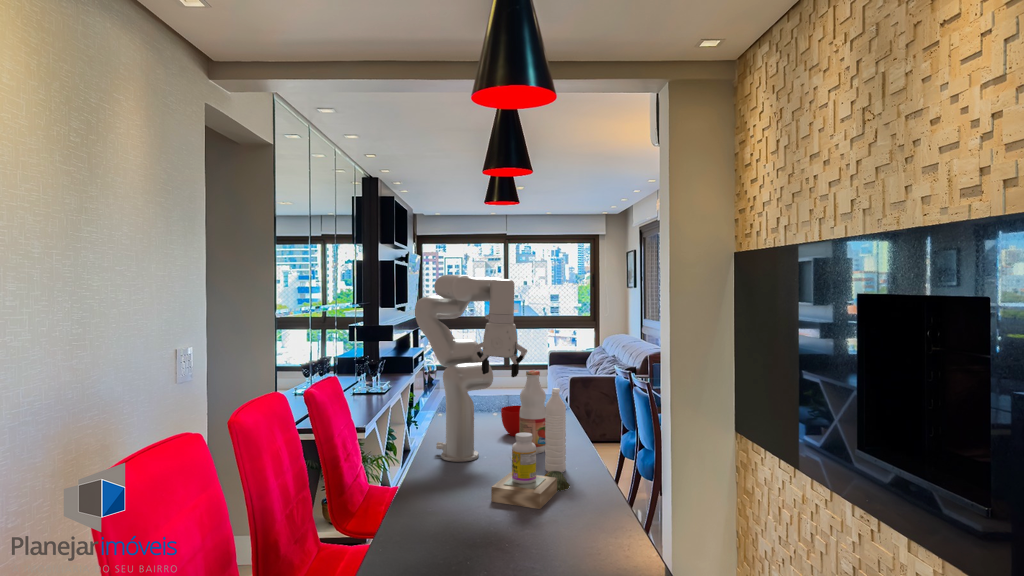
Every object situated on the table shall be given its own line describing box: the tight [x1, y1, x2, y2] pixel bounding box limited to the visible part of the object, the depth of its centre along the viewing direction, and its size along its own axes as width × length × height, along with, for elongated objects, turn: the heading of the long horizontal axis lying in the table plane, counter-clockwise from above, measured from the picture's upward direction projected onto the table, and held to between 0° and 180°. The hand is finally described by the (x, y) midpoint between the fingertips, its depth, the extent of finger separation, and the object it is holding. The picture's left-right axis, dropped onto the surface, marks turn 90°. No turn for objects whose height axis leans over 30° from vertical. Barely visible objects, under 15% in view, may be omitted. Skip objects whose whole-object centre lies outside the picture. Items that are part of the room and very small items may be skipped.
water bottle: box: [544, 387, 567, 473], centre depth 192 cm, size 9×6×25 cm
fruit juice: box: [519, 369, 547, 455], centre depth 213 cm, size 9×9×28 cm
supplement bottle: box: [511, 433, 537, 484], centre depth 167 cm, size 7×7×13 cm
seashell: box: [543, 471, 571, 492], centre depth 176 cm, size 10×4×10 cm
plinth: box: [490, 471, 558, 510], centre depth 167 cm, size 14×14×4 cm
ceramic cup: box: [500, 405, 521, 437], centre depth 237 cm, size 13×17×10 cm
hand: (499, 375), depth 185 cm, fingers open, 9 cm apart
